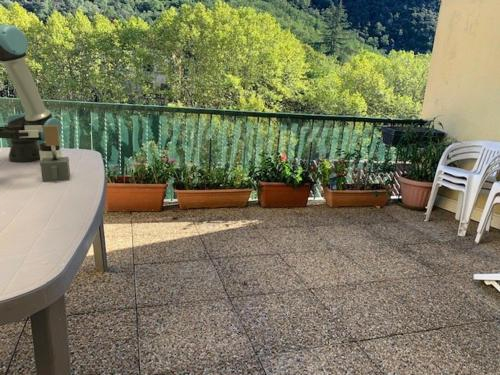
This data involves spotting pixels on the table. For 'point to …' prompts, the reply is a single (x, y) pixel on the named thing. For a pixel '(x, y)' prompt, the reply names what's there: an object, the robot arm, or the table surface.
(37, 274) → the table surface
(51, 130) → the plunger
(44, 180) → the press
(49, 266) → the table surface
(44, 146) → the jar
